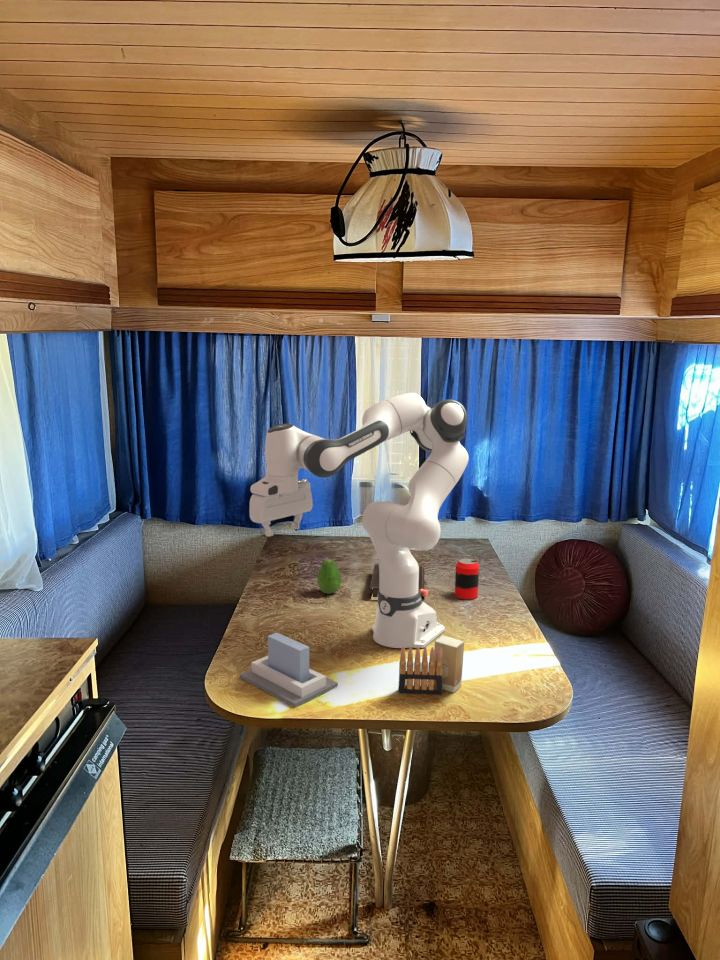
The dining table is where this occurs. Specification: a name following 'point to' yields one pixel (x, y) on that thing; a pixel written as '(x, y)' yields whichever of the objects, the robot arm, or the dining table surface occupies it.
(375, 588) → the diary
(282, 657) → the door panel
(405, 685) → the ammunition clip
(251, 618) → the dining table surface
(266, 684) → the track base
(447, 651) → the skincare box
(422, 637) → the robot arm
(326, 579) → the avocado
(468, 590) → the soda can
